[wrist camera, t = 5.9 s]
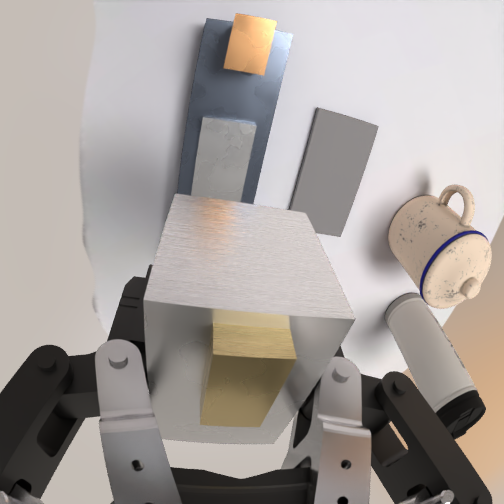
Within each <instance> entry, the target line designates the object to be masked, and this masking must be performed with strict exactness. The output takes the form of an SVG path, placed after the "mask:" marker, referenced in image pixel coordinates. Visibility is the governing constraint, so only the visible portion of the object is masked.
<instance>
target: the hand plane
mask: <svg viewBox="0 0 504 504" xmlns="http://www.w3.org/2000/svg"><path fill="white" fill-rule="evenodd" d="M276 23H277V21H273V20H269V19H264V18H259V17H254V16H249V15H243V14H237V13H236V15H235V19H234V22H231V21H224V20H217V19H209V18H207V19H206V23H205V28H204V32H203V37H202V41H201V46H200V51H199V56H198V61H197V66H196V71H195V76H194V81H193V87H192V93H191V98H190V104H189V110H188V117H187V123H186V129H185V136H184V143H183V150H182V158H181V166H180V174H179V182H178V191H177V194H183V195H191V196H199V197H206V198H213V199H220V200H227V201H234V202H241V203H247V204H253V203H254V198H255V194H256V190H257V185H258V181H259V177H260V172H261V168H262V164H263V159H264V155H265V151H266V146H267V142H268V138H269V134H270V129H271V125H272V121H273V116H274V112H275V108H276V104H277V100H278V95H279V91H280V87H281V83H282V79H283V74H284V70H285V66H286V62H287V58H288V54H289V49H290V45H291V41H292V37H293V34H290V33H286V32H282V31H277V30H275V27H276Z"/></svg>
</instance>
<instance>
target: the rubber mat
mask: <svg viewBox="0 0 504 504" xmlns="http://www.w3.org/2000/svg"><path fill="white" fill-rule="evenodd" d="M377 130H378V126H376V125H374V124H371V123H368V122H365V121H362V120H358V119H355V118H352V117H349V116H346V115H342V114H339V113H335V112H332V111H328V110H325V109H321V108H317V110H316V114H315V118H314V122H313V125H312V129H311V133H310V136H309V140H308V144H307V148H306V151H305V155H304V158H303V162H302V166H301V169H300V173H299V177H298V180H297V184H296V187H295V191H294V194H293V198H292V201H291V205H290V208H289V210H291V211H297V212H303V213H306V214H307V216H308V218H309V220H310V222H311V224H312V226H313V228H314V231H315V233H319V234H326V235H332V236H338V237H341V234H342V232H343V229H344V226H345V224H346V221H347V218H348V216H349V213H350V210H351V207H352V205H353V202H354V199H355V196H356V193H357V191H358V188H359V185H360V182H361V179H362V176H363V173H364V170H365V167H366V164H367V161H368V158H369V155H370V152H371V149H372V146H373V143H374V140H375V137H376V133H377Z"/></svg>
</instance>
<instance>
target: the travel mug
mask: <svg viewBox="0 0 504 504" xmlns="http://www.w3.org/2000/svg"><path fill="white" fill-rule="evenodd" d="M385 321H386V323H387V325H388V327H389V328H390V330H391V332H392V334H393V336H394V338H395V341H396V343H397V345H398V347H399V349H400V351H401V353H402V355H403V357H404V359H405V361H406V363H407V365H408V368H409V370H410V372H411V374H412V376H413V378H414V380H415V382H416V385H417V387H418V389H419V391H420V393H421V394H422V395H423V397H424V398H425V400H426V401H427V402H428V404H429V405H430V406H431V408H432V409H433V410H434V412H435V413H436V415H437V416H438V417H439V419H440V420H441V422H442V423H443V424H444V426H445V427H446V429H447V430H448V431H449V433H450V434H451V436H452V437H453V438H454V440H455V439H456V438H459V437H460V436H462V435H464V434H465V433H466V431H467V430H468V429H469V428H470V427H472V426H473V425H474V424H476V422H478V421H479V420H480V419H481V417H482V416H483V415H484V413H485V410H486V407H485V405H484V403H483V402H482V399H481V398H480V397H479V394H478V392H477V389H476V387H475V385H474V383H473V381H472V379H471V378H470V376H469V374H468V372H467V370H466V368H465V367H464V365H463V363H462V361H461V359H460V358H459V356H458V354H457V352H456V351H455V349H454V347H453V346H452V344H451V342H450V341H449V339H448V337H447V336H446V334H445V333H444V331H443V329H442V327H441V326H440V324H439V323H438V321H437V319H436V318H435V316H434V315H433V313H432V312H431V310H430V309H429V307H428V305H427V304H426V303H425V302H424V300H423V299H422V297H421V295H419V294H416V293H409V294H406V295H403V296H401V297H399V298H398V299H396V300H395V301H394V302H393V303H392V304H391V305H390V306H389V308H388V309H387V311H386V314H385Z"/></svg>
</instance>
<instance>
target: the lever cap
mask: <svg viewBox="0 0 504 504" xmlns="http://www.w3.org/2000/svg"><path fill="white" fill-rule="evenodd" d="M143 303H144V330H145V348H146V362H147V375H148V386H149V396H150V400H151V405H152V409H153V412H154V415H155V417H156V420H157V423H158V427H159V431H160V434H161V438H162V439H168V440H177V441H188V442H201V443H218V444H219V443H220V444H274V442H275V441H276V440H277V439H278V437H279V436H280V435H281V433H282V432H283V431H284V429H285V428H286V427H287V425H288V424H289V422H290V421H291V420H292V418H293V417H294V415H295V414H296V413H297V411H298V410H299V408H300V407H301V405H302V404H303V403H304V401H305V400H306V398H307V397H308V395H309V394H310V392H311V391H312V389H313V388H314V386H315V385H316V383H317V382H318V380H319V379H320V377H321V376H322V374H323V372H324V371H325V369H326V368H327V366H328V365H329V363H330V361H331V360H332V358H333V356H334V355H335V353H336V352H337V350H338V348H339V347H340V345H341V343H342V342H343V340H344V338H345V337H346V335H347V333H348V331H349V330H350V328H351V326H352V324H353V323H354V321H355V317H354V314H353V312H352V310H351V308H350V305H349V303H348V301H347V299H346V296H345V294H344V292H343V290H342V288H341V285H340V283H339V281H338V279H337V277H336V274H335V272H334V270H333V268H332V266H331V264H330V262H329V260H328V257H327V255H326V253H325V251H324V249H323V247H322V245H321V243H320V241H319V239H318V237H317V235H316V233H315V231H314V228H313V226H312V224H311V222H310V220H309V218H308V216H307V214H306V213H303V212H297V211H291V210H285V209H279V208H273V207H267V206H260V205H254V204H247V203H241V202H234V201H227V200H220V199H213V198H206V197H199V196H191V195H183V194H176V193H175V195H174V198H173V201H172V204H171V207H170V210H169V213H168V217H167V220H166V223H165V226H164V229H163V232H162V236H161V239H160V242H159V246H158V249H157V252H156V256H155V259H154V263H153V266H152V270H151V273H150V277H149V281H148V284H147V288H146V292H145V296H144V299H143Z"/></svg>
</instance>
